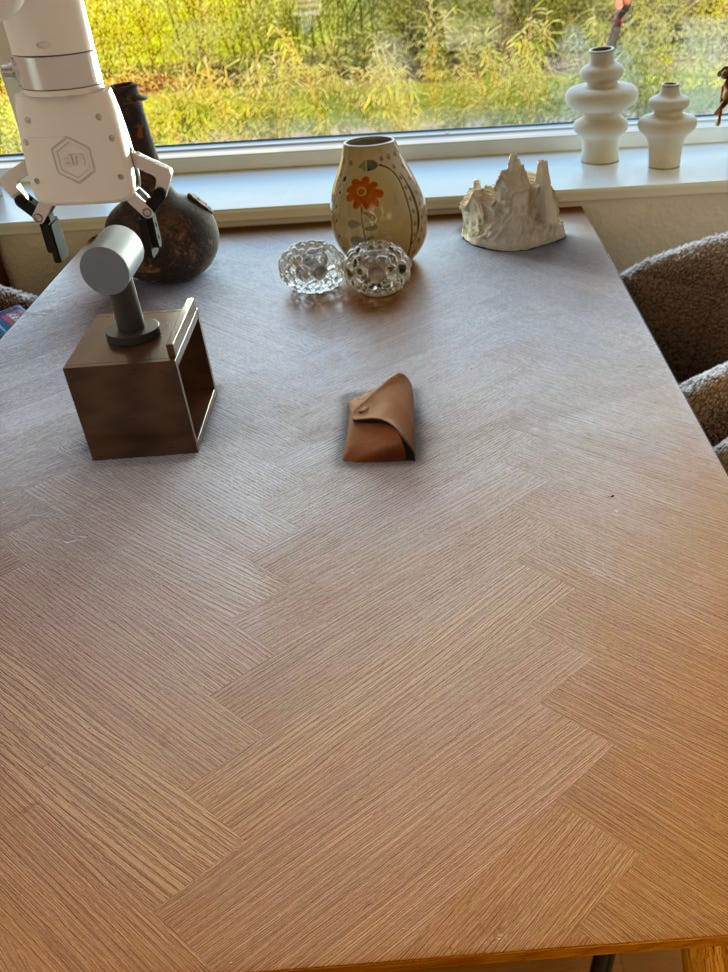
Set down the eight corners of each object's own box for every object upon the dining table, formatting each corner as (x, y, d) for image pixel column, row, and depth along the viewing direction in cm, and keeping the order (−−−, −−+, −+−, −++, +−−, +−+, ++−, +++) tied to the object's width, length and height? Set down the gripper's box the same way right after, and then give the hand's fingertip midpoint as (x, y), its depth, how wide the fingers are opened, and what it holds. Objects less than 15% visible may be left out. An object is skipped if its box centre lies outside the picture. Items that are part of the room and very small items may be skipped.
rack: (92, 460, 109) (57, 355, 101) (122, 399, 122) (93, 301, 114) (198, 452, 110) (171, 347, 102) (217, 393, 122) (194, 295, 114)
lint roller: (99, 351, 105) (68, 248, 98) (115, 324, 112) (87, 226, 105) (154, 347, 106) (126, 244, 99) (167, 321, 112) (142, 222, 105)
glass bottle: (229, 286, 154) (188, 87, 136) (115, 301, 150) (58, 100, 133) (223, 253, 167) (185, 69, 149) (117, 266, 164) (66, 79, 146)
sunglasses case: (343, 399, 117) (365, 353, 114) (395, 423, 120) (418, 377, 116) (339, 471, 103) (364, 420, 100) (398, 496, 106) (424, 447, 103)
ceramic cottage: (577, 236, 165) (573, 140, 156) (498, 259, 159) (489, 161, 150) (527, 222, 176) (520, 131, 167) (451, 243, 170) (440, 151, 161)
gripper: (-46, 84, 89) (15, 272, 99) (142, 76, 90) (183, 263, 100) (-19, 72, 95) (36, 251, 105) (157, 64, 95) (194, 242, 106)
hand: (107, 257), depth 103 cm, fingers open, 9 cm apart
